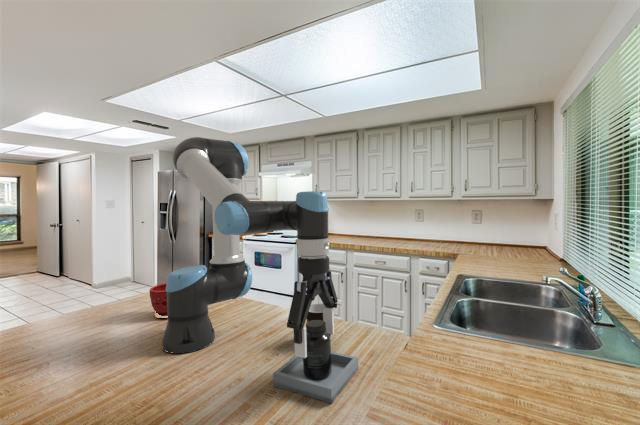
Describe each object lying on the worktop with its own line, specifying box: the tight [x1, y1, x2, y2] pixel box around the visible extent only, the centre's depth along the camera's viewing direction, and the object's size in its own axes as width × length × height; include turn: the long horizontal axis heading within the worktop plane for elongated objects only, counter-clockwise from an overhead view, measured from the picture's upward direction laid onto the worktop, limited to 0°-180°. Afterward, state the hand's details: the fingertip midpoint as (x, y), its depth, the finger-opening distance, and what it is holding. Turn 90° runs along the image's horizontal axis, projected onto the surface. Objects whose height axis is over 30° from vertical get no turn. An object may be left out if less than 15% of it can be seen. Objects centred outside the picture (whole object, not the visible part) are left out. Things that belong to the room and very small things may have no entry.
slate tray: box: [272, 351, 359, 404], centre depth 74 cm, size 15×15×3 cm
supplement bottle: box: [303, 320, 332, 380], centre depth 74 cm, size 7×7×12 cm
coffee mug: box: [306, 303, 332, 338], centre depth 96 cm, size 12×9×10 cm
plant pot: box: [149, 282, 168, 316], centre depth 122 cm, size 13×13×12 cm
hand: (315, 343), depth 74 cm, fingers open, 13 cm apart
